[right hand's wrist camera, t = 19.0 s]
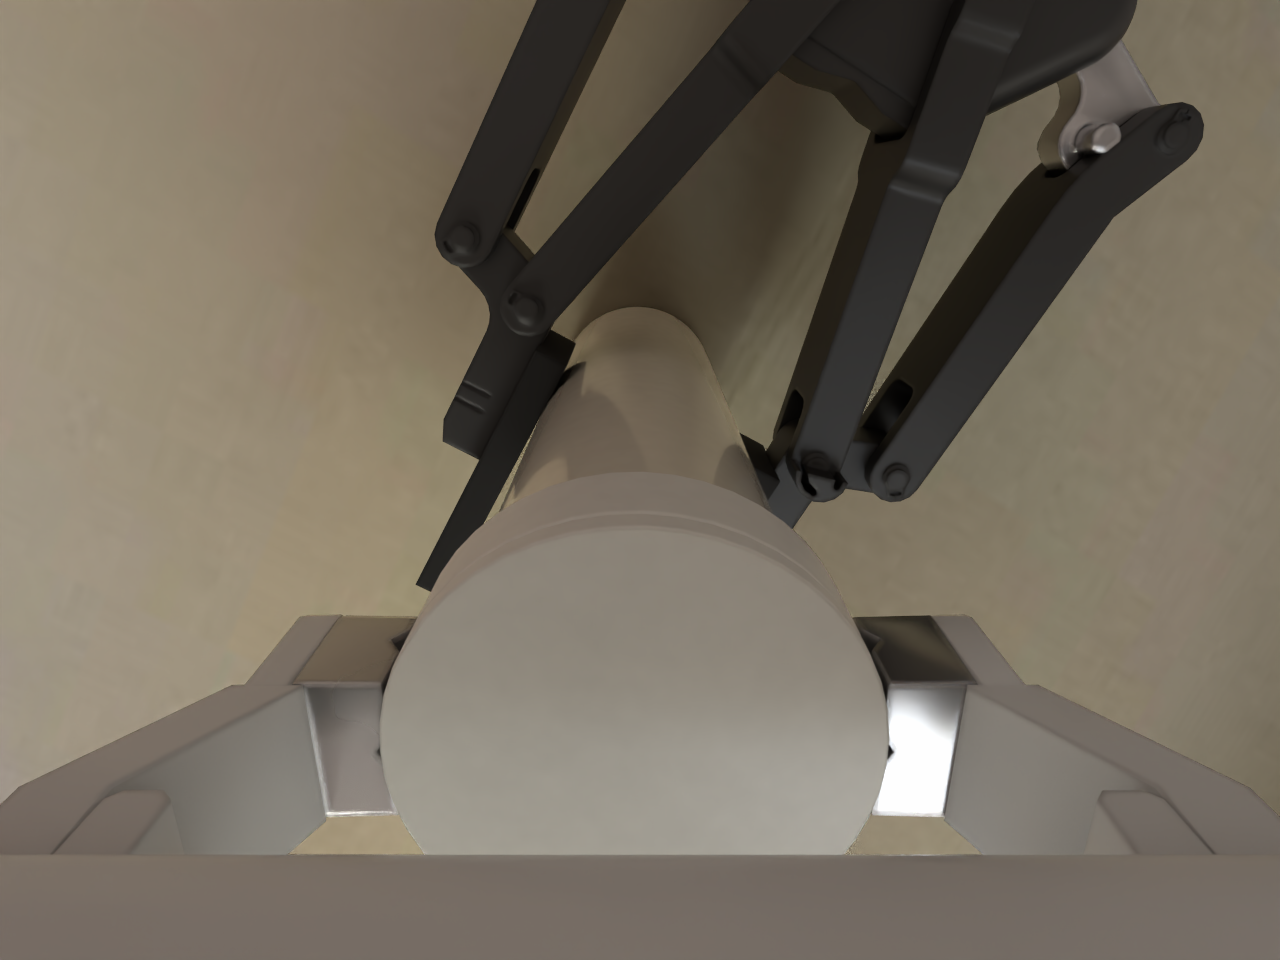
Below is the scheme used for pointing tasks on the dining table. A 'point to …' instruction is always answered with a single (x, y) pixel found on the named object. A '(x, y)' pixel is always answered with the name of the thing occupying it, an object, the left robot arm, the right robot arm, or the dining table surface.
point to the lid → (634, 684)
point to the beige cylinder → (637, 411)
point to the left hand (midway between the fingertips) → (539, 610)
